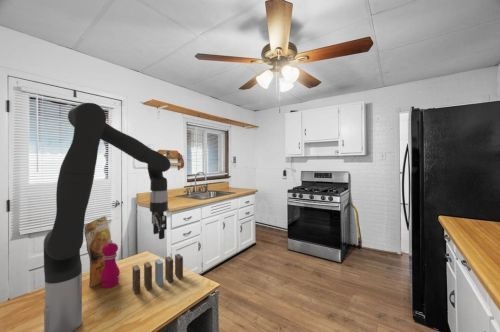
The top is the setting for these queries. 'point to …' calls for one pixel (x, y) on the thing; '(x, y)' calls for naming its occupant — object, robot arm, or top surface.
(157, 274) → the domino
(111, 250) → the pepper mill
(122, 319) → the top surface
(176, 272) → the domino
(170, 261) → the domino
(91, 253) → the pancake mix bag
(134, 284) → the domino
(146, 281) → the domino
